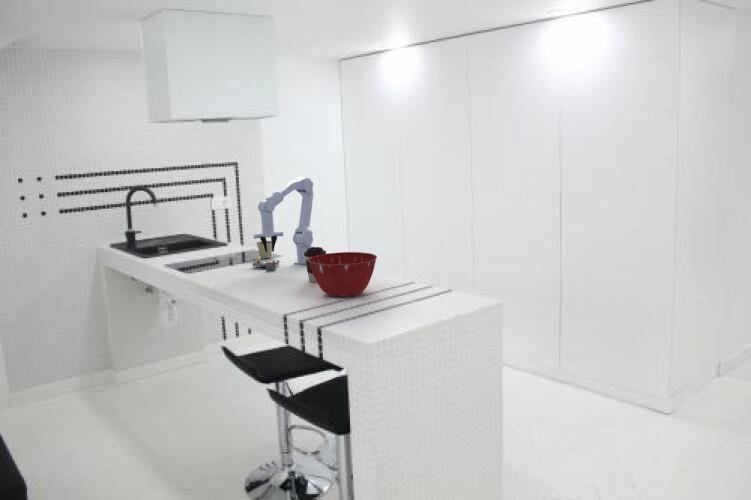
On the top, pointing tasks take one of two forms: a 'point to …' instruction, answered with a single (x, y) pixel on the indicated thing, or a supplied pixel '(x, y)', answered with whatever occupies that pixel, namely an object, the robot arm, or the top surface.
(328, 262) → the mixing bowl
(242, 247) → the top surface
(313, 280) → the coffee cup
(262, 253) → the flower pot
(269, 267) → the cube with orange inset
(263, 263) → the sprocket
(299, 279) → the top surface
